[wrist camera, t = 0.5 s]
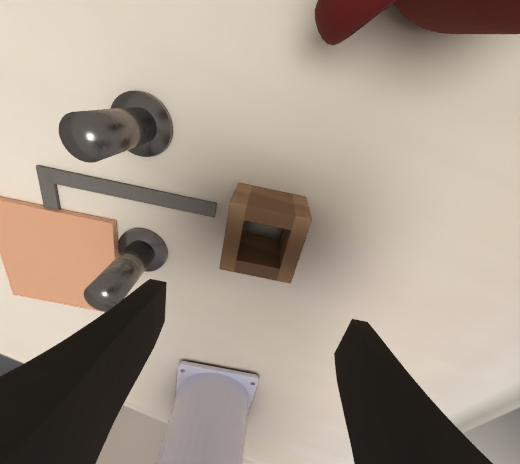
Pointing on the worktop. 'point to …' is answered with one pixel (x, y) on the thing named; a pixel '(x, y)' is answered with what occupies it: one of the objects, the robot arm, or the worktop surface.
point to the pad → (54, 251)
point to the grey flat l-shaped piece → (115, 191)
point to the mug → (420, 16)
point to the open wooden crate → (260, 248)
